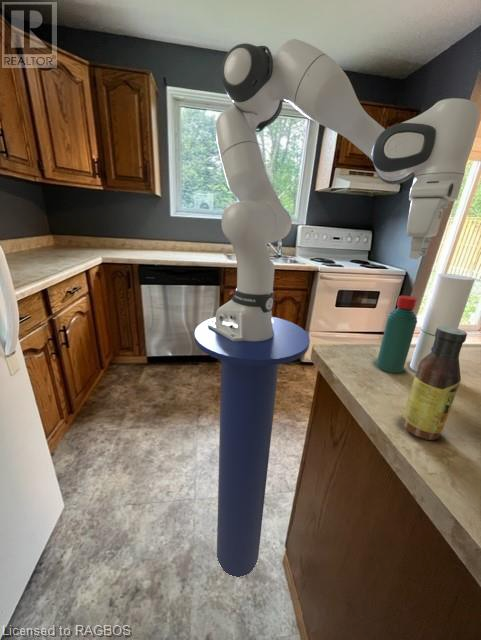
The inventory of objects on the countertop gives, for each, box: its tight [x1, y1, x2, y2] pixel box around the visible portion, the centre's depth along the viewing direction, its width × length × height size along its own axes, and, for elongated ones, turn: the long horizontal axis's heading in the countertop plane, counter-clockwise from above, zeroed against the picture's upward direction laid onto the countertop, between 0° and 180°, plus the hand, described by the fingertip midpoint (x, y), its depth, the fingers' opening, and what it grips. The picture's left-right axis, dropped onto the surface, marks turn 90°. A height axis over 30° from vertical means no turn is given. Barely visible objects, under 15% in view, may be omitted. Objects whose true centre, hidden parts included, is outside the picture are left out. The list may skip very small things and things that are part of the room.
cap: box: [396, 295, 418, 310], centre depth 66 cm, size 4×4×2 cm
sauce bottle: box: [402, 326, 468, 441], centre depth 47 cm, size 6×6×20 cm
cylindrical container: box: [409, 273, 476, 373], centre depth 68 cm, size 7×7×25 cm
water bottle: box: [375, 306, 418, 374], centre depth 69 cm, size 6×6×19 cm
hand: (417, 257), depth 63 cm, fingers open, 8 cm apart
